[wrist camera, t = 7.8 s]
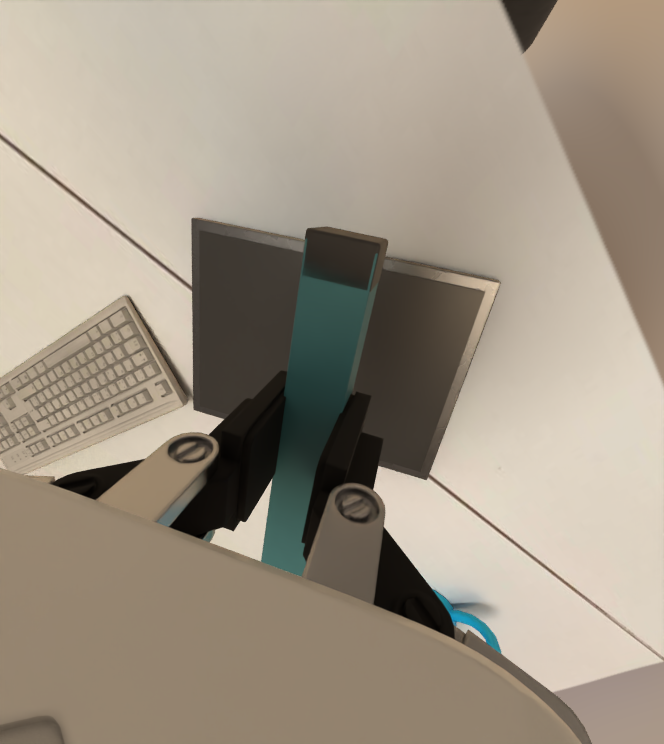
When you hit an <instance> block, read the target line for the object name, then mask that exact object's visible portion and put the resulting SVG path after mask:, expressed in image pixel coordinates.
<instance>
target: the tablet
mask: <svg viewBox="0 0 664 744" xmlns="http://www.w3.org/2000/svg"><path fill="white" fill-rule="evenodd" d="M304 243H305V240H303V239H298V238H293V237H288V236H284V235H279V234H274V233H269V232H264V231H260V230H255V229H250V228H245V227H240V226H235V225H231V224H226V223H221V222H216V221H211V220H206V219H202V218H192V310H193V405H194V410H196V411H199V412H203V413H206V414H209V415H213V416H216V417H219V418H223V419H225V418H226V417H227V416H228V415H229V414H230V413H231V412H232V411H233V410H234V409H235V408H237V407H238V406H239V405H240V404H241V403H242V402H243V401H244V400H245V399H246V398H250V399H253V398H254V397H255V396H256V395H257V394H258V393H259V392H260V391H261V390H262V389H263V388H264V387H265V386H266V385H267V384H268V383H269V382H270V381H271V380H272V379H273V378H274V377H275V376H276V374H277V373H278V372H279V371H281V370H283V371H286V372H287V369H288V362H289V355H290V347H291V340H292V333H293V326H294V318H295V311H296V304H297V296H298V289H299V282H300V272H301V265H302V257H303V250H304ZM500 284H501V282H500V281H499V280H496V279H491V278H486V277H481V276H477V275H472V274H467V273H462V272H457V271H453V270H448V269H443V268H438V267H433V266H428V265H424V264H419V263H414V262H409V261H404V260H399V259H395V258H390V257H385V259H384V263H383V267H382V272H381V276H380V280H379V282H378V286H377V290H376V295H375V299H374V303H373V307H372V312H371V316H370V320H369V324H368V329H367V333H366V337H365V341H364V346H363V350H362V354H361V358H360V363H359V367H358V371H357V375H356V380H355V384H354V388H353V392H352V394H353V395H355V393H356V391H357V392H361V393H364V394H368V395H371V396H372V397H371V401H370V404H369V408H368V412H367V416H366V419H365V423H364V427H363V431H362V432H364V433H367V434H370V435H374V436H377V437H380V438H383V445H382V449H381V454H380V459H379V464H378V466H381V467H385V468H388V469H391V470H395V471H398V472H401V473H405V474H408V475H411V476H415V477H418V478H421V479H424V480H427V478H428V475H429V473H430V470H431V467H432V465H433V462H434V459H435V457H436V454H437V451H438V449H439V446H440V443H441V441H442V438H443V435H444V433H445V430H446V428H447V425H448V422H449V420H450V417H451V414H452V412H453V409H454V406H455V404H456V401H457V398H458V396H459V393H460V390H461V388H462V385H463V382H464V380H465V377H466V374H467V372H468V369H469V366H470V364H471V361H472V359H473V356H474V353H475V351H476V348H477V345H478V343H479V340H480V337H481V335H482V332H483V329H484V327H485V324H486V321H487V319H488V316H489V313H490V311H491V308H492V305H493V303H494V300H495V297H496V295H497V292H498V290H499V287H500Z"/></svg>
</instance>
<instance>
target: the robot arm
mask: <svg viewBox="0 0 664 744" xmlns="http://www.w3.org/2000/svg"><path fill="white" fill-rule="evenodd" d="M286 377H287V372H286V371H283V370H281V371H279V372H278V373H277V374H276V376H275V377H274V378H273V379H272V380H271V381H270V382H269V383H268V384H267V385H266V386H265V387H264V388H263V389H262V390H261V391H260V392H259V393H258V394H257V395H256V396H255V397H254V398H253V399H250V398H246V399H245V400H244V401H243V402H242V403H241V404H240V405H239V406H238V407H237V408H235V409H234V410H233V411H232V412H231V413H230V414H229V415H228V416H227V417H226V418H225V419H224V420H223V421H222V422H221V423H220V424H219V425H218V426H217V427H216V428H215V429H214V430H213V431H212V432H211V433H210V434H209V435H207V434H203V433H198V432H190V433H183V434H180V435H177V436H174V437H173V438H171V439H169V440H168V441H167V442H165V443H164V444H163V445H162V446H160V447H159V448H158V449H157V450H156V451H154V452H153V453H152V454H151V455H150V456H148V457H147V458H146V459H143V460H138V461H132V462H127V463H122V464H117V465H112V466H106V467H101V468H96V469H91V470H86V471H81V472H76V473H73V474H69V475H67V476H64V477H62V478H60V479H58V480H56V481H55V477H53V476H28V475H22V474H18V473H15V472H12V471H8V470H5V469H2V468H0V744H592V743H591V740H590V738H589V736H588V734H587V732H586V730H585V727H584V726H583V724H582V723H581V722H580V720H579V719H578V717H577V716H576V714H575V713H574V712H573V710H572V709H571V708H570V707H568V706H567V705H566V704H565V703H564V702H563V701H562V700H561V699H560V698H559V697H558V696H556V695H555V694H554V693H552V692H551V691H550V690H548V689H547V688H546V687H544V686H543V685H542V684H540V683H539V682H538V681H536V680H535V679H534V678H532V677H531V676H530V675H528V674H527V673H526V672H524V671H523V670H522V669H520V668H519V667H518V666H516V665H515V664H514V663H512V662H511V661H510V660H508V659H507V658H506V657H504V656H503V655H502V654H500V653H499V652H498V651H496V650H495V649H494V648H492V647H491V646H490V645H488V644H487V643H486V642H484V641H483V640H482V639H480V638H479V637H478V636H476V635H475V634H474V633H472V632H471V631H470V630H468V631H467V632H466V634H465V633H464V632H462V631H461V630H460V629H458V628H457V627H456V626H454V625H453V622H452V619H451V616H450V614H449V612H448V610H447V609H446V607H445V606H444V604H443V603H442V601H441V600H440V599H439V598H438V596H437V595H436V594H435V592H434V591H433V590H432V588H431V587H430V586H429V585H428V583H427V582H426V581H425V579H424V578H423V577H422V576H421V574H420V573H419V572H418V570H417V569H416V568H415V567H414V565H413V564H412V563H411V561H410V560H409V559H408V557H407V556H406V555H405V554H404V552H403V551H402V550H401V548H400V547H399V546H398V545H397V543H396V542H395V541H394V539H393V538H392V537H391V535H390V534H389V533H388V532H387V530H386V529H385V528H384V519H385V505H384V503H383V501H382V499H381V498H380V496H379V495H378V494H377V493H376V492H375V491H373V488H374V483H375V478H376V474H377V469H378V464H379V459H380V454H381V449H382V445H383V438H380V437H377V436H374V435H370V434H367V433H364V432H362V431H363V427H364V423H365V419H366V416H367V412H368V408H369V404H370V401H371V397H372V396H371V395H368V394H364V393H361V392H357V391H356V393H355V395H353V394H351V395H350V397H349V399H348V401H347V403H346V406H345V408H344V410H343V412H342V413H340V414H339V417H338V419H337V421H336V423H335V425H334V428H333V430H332V432H331V434H330V436H329V438H328V441H327V443H326V445H325V447H324V449H323V452H322V454H321V456H320V459H319V462H318V465H317V469H316V473H315V478H314V483H313V487H312V492H311V497H310V502H309V507H308V511H307V516H306V521H305V526H304V531H303V536H302V540H301V543H304V544H305V546H304V551H303V557H304V559H305V561H306V565H305V568H304V571H303V574H302V577H300V576H297V575H294V574H292V573H289V572H287V571H284V570H281V569H279V568H276V567H273V566H271V565H268V564H266V563H263V562H260V561H258V560H255V559H252V558H250V557H247V556H244V555H242V554H239V553H236V552H234V551H231V550H228V549H226V548H223V547H220V546H218V545H215V544H212V543H210V541H211V540H212V538H213V536H214V534H215V530H216V529H219V528H222V527H223V528H226V529H229V530H232V531H234V530H235V528H236V527H237V525H238V524H239V522H240V521H242V522H246V521H247V519H248V518H249V516H250V514H251V513H252V511H253V509H254V508H255V506H256V504H257V503H258V501H259V499H260V498H261V496H262V494H263V493H264V491H265V489H266V488H267V486H268V484H269V483H270V481H271V479H272V478H273V476H274V475H275V472H276V465H277V458H278V451H279V444H280V437H281V430H282V423H283V415H284V408H285V401H286V397H285V396H284V391H285V384H286Z"/></svg>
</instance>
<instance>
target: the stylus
mask: <svg viewBox="0 0 664 744" xmlns="http://www.w3.org/2000/svg"><path fill="white" fill-rule="evenodd" d="M387 246H388V240H386V239H383V238H379V237H374V236H369V235H364V234H360V233H355V232H350V231H346V230H341V229H336V228H332V227H317V228H308V229H307V230H306V235H305V243H304V250H303V257H302V265H301V272H300V282H299V289H298V296H297V304H296V311H295V318H294V326H293V333H292V340H291V347H290V355H289V362H288V369H287V377H286V384H285V391H284V396H285V397H286V401H285V408H284V415H283V423H282V430H281V437H280V444H279V451H278V458H277V465H276V472H275V475H274V476H273V479H272V486H271V494H270V501H269V508H268V516H267V523H266V530H265V538H264V545H263V552H262V560H261V562H263V563H266V564H268V565H271V566H274V567H276V568H279V569H282V570H284V571H287V572H290V573H292V574H295V575H298V576H300V577H302V574H303V571H304V568H305V565H306V561H305V559H304V557H303V551H304V546H305V544H304V543H301V540H302V536H303V531H304V526H305V521H306V516H307V511H308V507H309V502H310V497H311V492H312V487H313V483H314V478H315V473H316V469H317V465H318V462H319V459H320V456H321V454H322V452H323V449H324V447H325V445H326V443H327V441H328V438H329V436H330V434H331V432H332V430H333V428H334V425H335V423H336V421H337V419H338V417H339V414H340V413H342V412H343V410H344V408H345V406H346V403H347V401H348V399H349V397H350V395H351V394H352V392H353V388H354V384H355V380H356V375H357V371H358V367H359V363H360V358H361V354H362V350H363V346H364V341H365V337H366V333H367V329H368V324H369V320H370V316H371V312H372V307H373V303H374V299H375V295H376V290H377V286H378V282H379V280H380V276H381V272H382V267H383V263H384V259H385V255H386V250H387Z"/></svg>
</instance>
